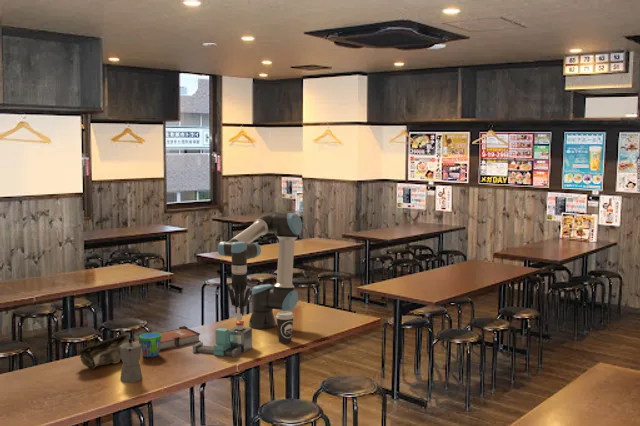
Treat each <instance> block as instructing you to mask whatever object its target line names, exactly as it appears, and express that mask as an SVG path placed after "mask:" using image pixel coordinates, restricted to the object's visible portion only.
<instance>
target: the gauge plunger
mask: <svg viewBox="0 0 640 426" xmlns="http://www.w3.org/2000/svg"><path fill="white" fill-rule="evenodd" d="M244 323H245V321H244V320H240V321H239V320H237V321H235V327H236V331H243V327H244Z"/></svg>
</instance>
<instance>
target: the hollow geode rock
mask: <svg viewBox="0 0 640 426" xmlns="http://www.w3.org/2000/svg"><path fill="white" fill-rule="evenodd" d="M128 336H130V334H123V335H118V336H116V337H113V338H109V339H104V340H101V341H97V342H96V343H94V344H90V345H87V346H85V347H83V348H81V349H80V350H78V351H77V355H76V356H77V357H78V356H79V358H80V360H81V362H82V364H83V365H84V366H85V367H87V368H88V369H89V370H93V369H95V368H96V367H100V366H103V365H105V366H106V365H110V364H119V363H120V361H121V360H122V359H121V353H120V348H119V346H120V345H122V344H124V343H129V340H128V338H127V337H128Z"/></svg>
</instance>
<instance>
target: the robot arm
mask: <svg viewBox="0 0 640 426" xmlns="http://www.w3.org/2000/svg"><path fill="white" fill-rule="evenodd" d="M302 230H303V222H302V219H301V216H300V215H299V214H297V213H292V212H275V211H273V212H268V213H267V214H264V215H261V216H260V217H258V218H256V219H255V220H254V222H253V223H252V224H251V225H250V226H249V227H247V228H246V229H244V230H242V231H241V232H240V233H238V234H237V235H235V236H233V237H232V238H231V239H230V240H227V241H225V240H224V241H220V242H219V243H218V244H217V245H218V246H217V253H218V254H219V255H220V256H222V257H230V258H231V284H230V285H228V286H227V287H226V289H227V291H228V295H229V298H230V303H231V306H234V307H235V309H234V310H235V314H236V320H237V321H243V314H244V313H245V311H244V308H245V307H246V306H248V304H249V298H250V294H251V314H250V315H251V316H250V317H249V320H248V326H249V328H252V329H259V330H261V329H262V330H264V329H265V330H266V329H272V328H274V327H276V325H277V319H276V316H275V315H274V311H273V310H279V311H280V310H281V311H282V312H283V311H287V312H292V310H294V309H295V307H296V306H297V304H298V300H299V293H298V291H297V290H295V285H294V284H293V275H294V274H293V273H294V258H295V257H294V253H295V241H296V240H297V239H298V236H299V235H300V234H301V233H302ZM266 234H276V238H277V239H278V255H277V271H276V272H277V274H276V283H274V284H271V283H268V284H258V285H256V286H255V285H254V286H253V287H251V286H249V285H248V282H247V281H248V274H247V272H248V266H247V265H248V261H247V260H250V259H255V258H257V257H259V256H260V255H261V253H262V247H261V246H260V244H259V243H256V242H254V241H255V240H256V239H258V238H259V237H261V236H265V235H266Z"/></svg>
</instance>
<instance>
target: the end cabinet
mask: <svg viewBox="0 0 640 426" xmlns="http://www.w3.org/2000/svg"><path fill="white" fill-rule="evenodd" d="M229 342H231V349H235V348H237V347H242V353H243V354H244V353H246V352H248V351H249V350H251V349H252V348H253V328H252V327H244V326H243V331H236V326H235V327H233V328H230V329H229ZM242 353H241V354H242Z"/></svg>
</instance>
